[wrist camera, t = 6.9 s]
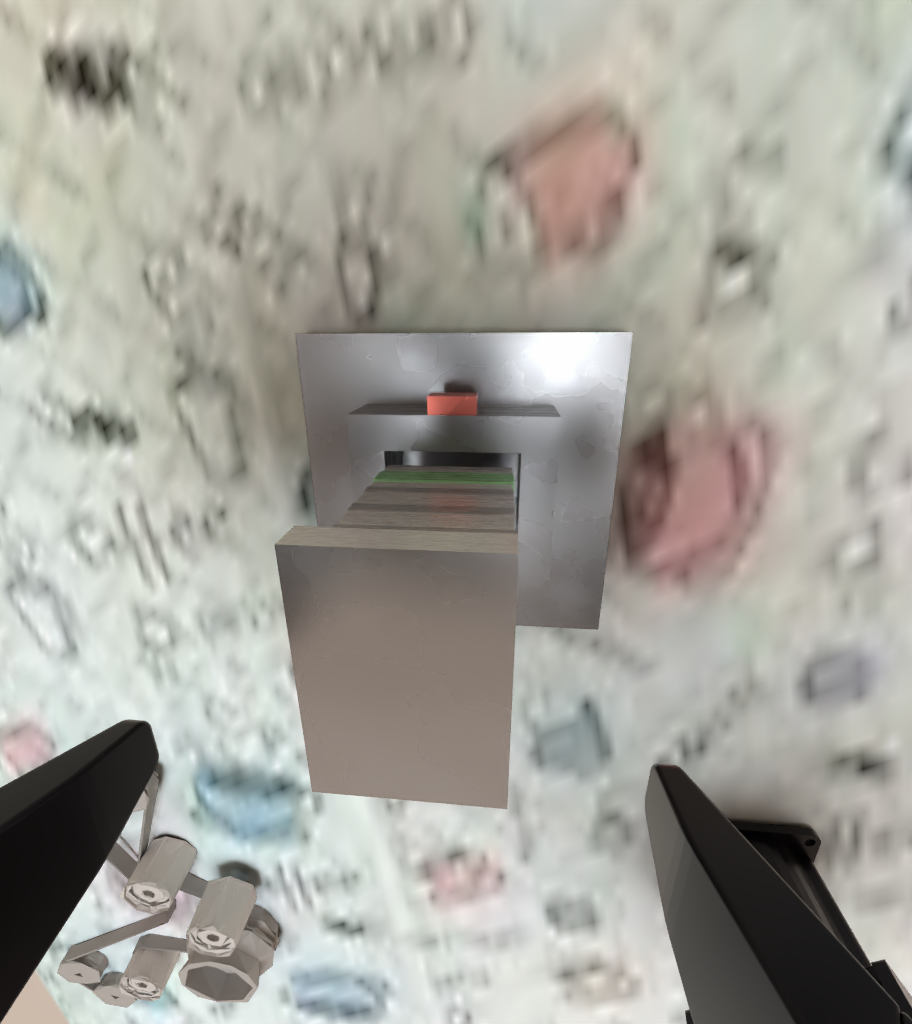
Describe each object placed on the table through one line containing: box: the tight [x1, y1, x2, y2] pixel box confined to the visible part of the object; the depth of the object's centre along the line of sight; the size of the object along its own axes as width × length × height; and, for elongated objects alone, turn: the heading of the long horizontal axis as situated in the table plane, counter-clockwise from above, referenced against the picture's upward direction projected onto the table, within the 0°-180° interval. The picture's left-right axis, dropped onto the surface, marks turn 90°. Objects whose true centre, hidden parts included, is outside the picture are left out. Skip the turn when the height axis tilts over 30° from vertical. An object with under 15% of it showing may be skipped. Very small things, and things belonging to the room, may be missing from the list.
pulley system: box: [57, 772, 280, 1008], centre depth 32 cm, size 27×5×15 cm
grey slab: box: [275, 465, 519, 809], centre depth 12 cm, size 4×6×8 cm
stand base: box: [295, 332, 633, 629], centre depth 18 cm, size 12×12×4 cm
